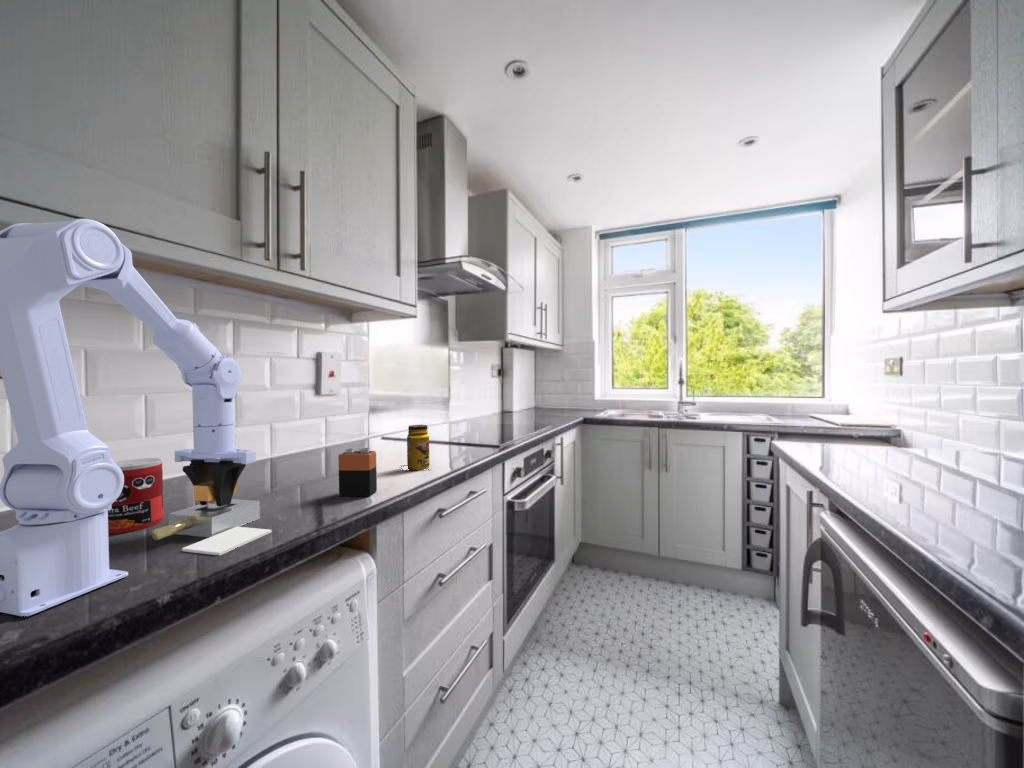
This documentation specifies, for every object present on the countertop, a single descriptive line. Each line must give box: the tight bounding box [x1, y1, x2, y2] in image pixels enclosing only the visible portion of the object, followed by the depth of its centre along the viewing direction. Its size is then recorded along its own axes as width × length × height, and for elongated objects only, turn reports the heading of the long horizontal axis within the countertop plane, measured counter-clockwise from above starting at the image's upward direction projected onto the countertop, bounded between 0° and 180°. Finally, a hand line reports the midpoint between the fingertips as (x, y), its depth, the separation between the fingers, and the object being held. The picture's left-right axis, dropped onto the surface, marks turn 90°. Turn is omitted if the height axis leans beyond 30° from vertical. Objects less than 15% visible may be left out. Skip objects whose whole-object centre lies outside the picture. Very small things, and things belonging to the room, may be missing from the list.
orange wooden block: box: [193, 481, 238, 512], centre depth 70 cm, size 6×3×6 cm, turn 169°
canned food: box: [108, 457, 164, 534], centre depth 71 cm, size 8×8×11 cm
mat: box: [181, 526, 273, 556], centre depth 63 cm, size 9×7×1 cm
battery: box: [338, 447, 378, 498], centre depth 88 cm, size 4×7×10 cm, turn 87°
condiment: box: [398, 424, 432, 473], centre depth 113 cm, size 7×8×12 cm
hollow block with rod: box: [151, 498, 261, 541], centre depth 68 cm, size 14×9×3 cm, turn 166°
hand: (215, 504), depth 70 cm, fingers closed on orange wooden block, 3 cm apart
